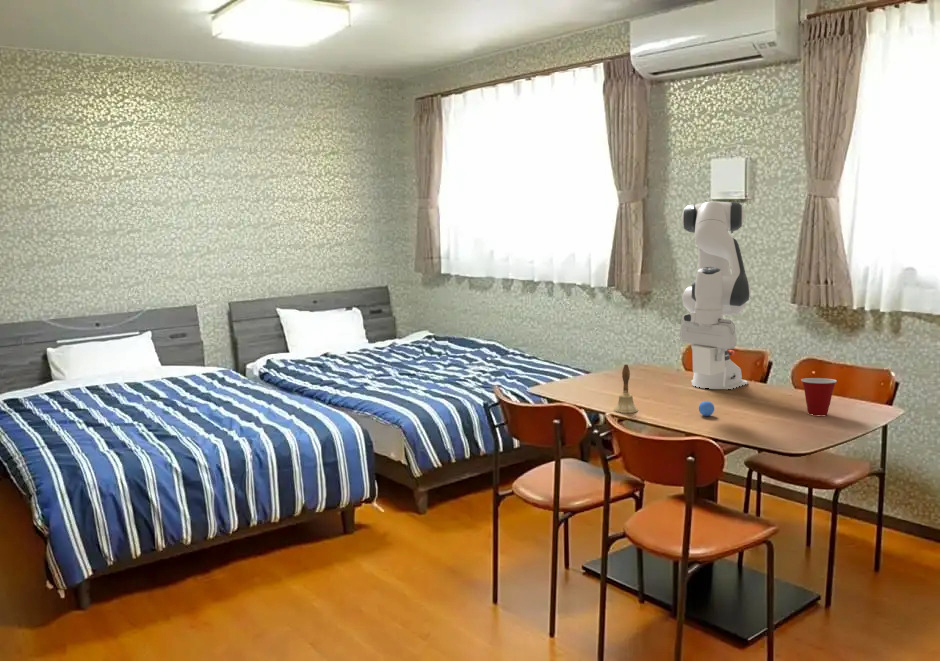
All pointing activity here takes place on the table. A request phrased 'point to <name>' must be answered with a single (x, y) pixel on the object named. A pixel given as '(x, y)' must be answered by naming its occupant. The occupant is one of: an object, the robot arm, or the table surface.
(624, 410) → the hand bell
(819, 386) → the plastic cup
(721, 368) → the white cube block
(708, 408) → the ball
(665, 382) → the table surface
